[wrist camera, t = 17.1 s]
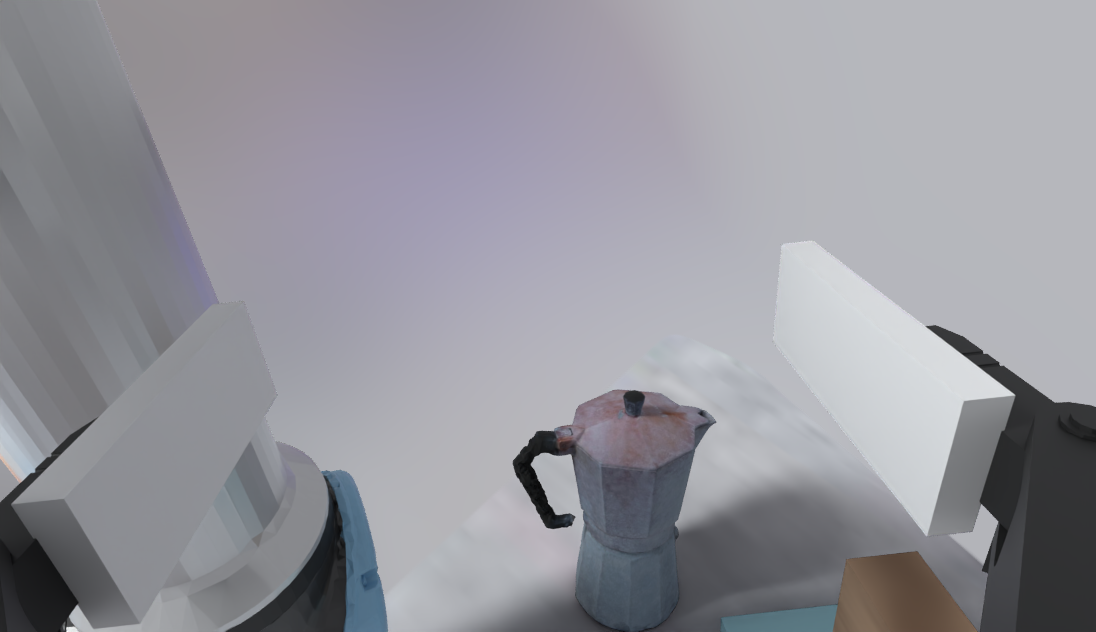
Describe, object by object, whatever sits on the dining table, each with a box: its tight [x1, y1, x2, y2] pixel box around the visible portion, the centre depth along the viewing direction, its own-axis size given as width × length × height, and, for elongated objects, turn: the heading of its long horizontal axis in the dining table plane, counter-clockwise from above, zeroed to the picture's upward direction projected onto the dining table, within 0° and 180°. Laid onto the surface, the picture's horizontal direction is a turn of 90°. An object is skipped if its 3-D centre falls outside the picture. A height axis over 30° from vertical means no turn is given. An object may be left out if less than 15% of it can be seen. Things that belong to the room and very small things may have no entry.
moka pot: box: [513, 390, 716, 632], centre depth 47 cm, size 10×15×20 cm, turn 105°
